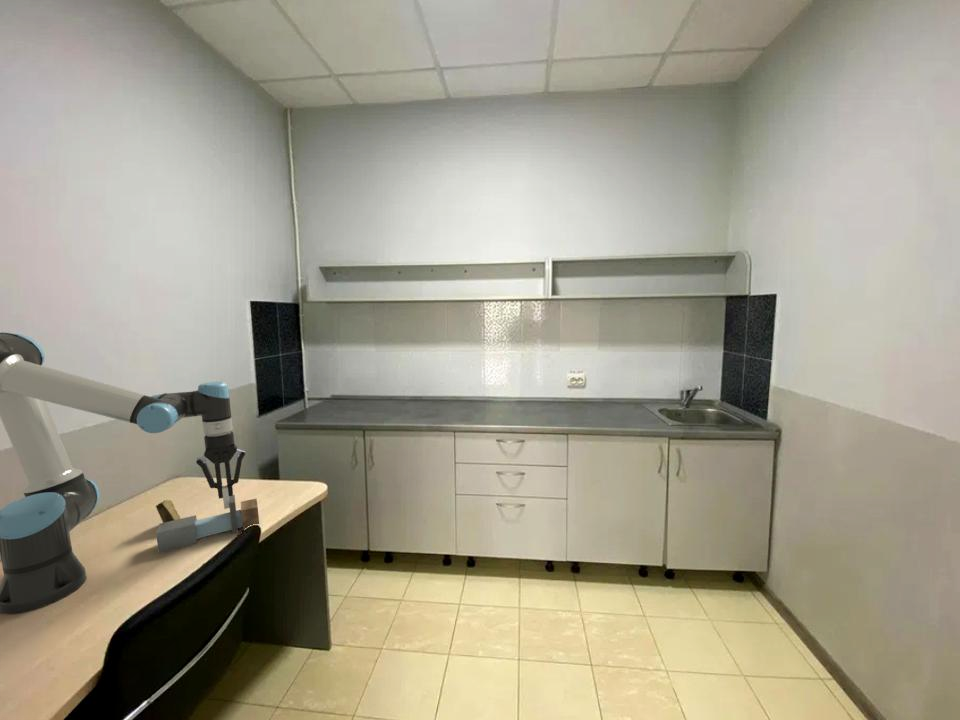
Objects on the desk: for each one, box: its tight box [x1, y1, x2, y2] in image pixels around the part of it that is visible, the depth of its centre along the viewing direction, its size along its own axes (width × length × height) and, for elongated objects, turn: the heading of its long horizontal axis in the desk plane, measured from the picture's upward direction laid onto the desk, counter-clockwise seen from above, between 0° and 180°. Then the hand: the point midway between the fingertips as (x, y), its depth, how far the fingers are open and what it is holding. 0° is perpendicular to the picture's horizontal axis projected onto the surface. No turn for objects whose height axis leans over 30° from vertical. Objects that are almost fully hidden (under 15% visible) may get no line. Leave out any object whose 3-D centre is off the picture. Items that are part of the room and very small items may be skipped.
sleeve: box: [155, 514, 199, 555], centre depth 122 cm, size 9×6×6 cm
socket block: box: [240, 497, 260, 531], centre depth 132 cm, size 4×7×7 cm, turn 31°
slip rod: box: [195, 494, 243, 539], centre depth 127 cm, size 18×6×10 cm, turn 121°
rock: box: [155, 499, 181, 523], centre depth 133 cm, size 11×9×10 cm
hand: (227, 506), depth 128 cm, fingers closed
